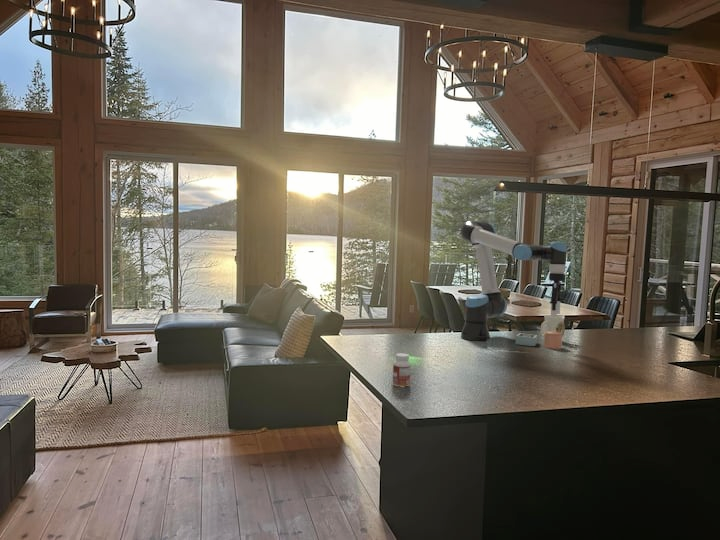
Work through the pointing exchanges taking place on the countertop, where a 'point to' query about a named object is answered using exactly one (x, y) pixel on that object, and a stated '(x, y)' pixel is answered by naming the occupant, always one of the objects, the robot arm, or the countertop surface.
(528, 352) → the countertop surface
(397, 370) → the pill bottle
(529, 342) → the crate
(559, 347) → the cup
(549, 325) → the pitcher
